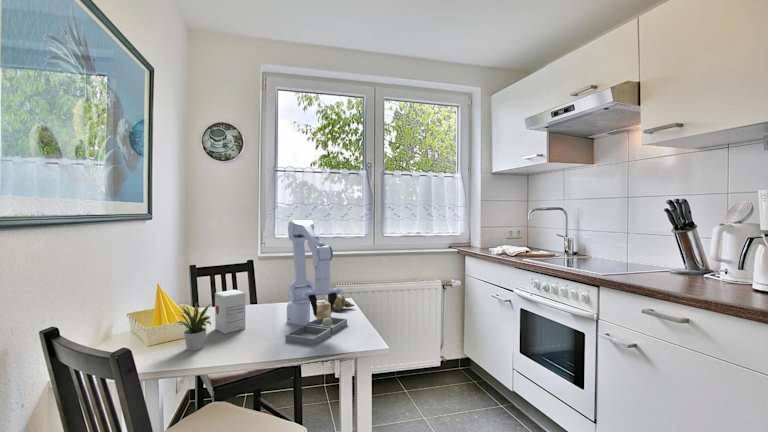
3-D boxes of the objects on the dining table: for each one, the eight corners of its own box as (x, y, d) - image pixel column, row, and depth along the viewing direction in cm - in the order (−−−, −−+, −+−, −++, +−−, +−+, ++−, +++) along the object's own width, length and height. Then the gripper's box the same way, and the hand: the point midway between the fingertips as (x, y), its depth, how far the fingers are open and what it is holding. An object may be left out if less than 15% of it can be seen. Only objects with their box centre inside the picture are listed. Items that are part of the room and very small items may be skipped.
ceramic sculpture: (334, 287, 190) (355, 293, 181) (334, 303, 191) (355, 310, 181) (318, 291, 182) (340, 297, 172) (318, 308, 182) (339, 315, 173)
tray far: (306, 331, 148) (306, 323, 148) (322, 322, 159) (322, 315, 159) (332, 335, 144) (332, 327, 144) (347, 326, 155) (347, 319, 155)
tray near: (285, 342, 136) (285, 334, 135) (304, 332, 147) (304, 325, 147) (313, 347, 131) (313, 338, 131) (330, 336, 142) (330, 328, 142)
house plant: (164, 360, 120) (164, 309, 120) (170, 345, 133) (169, 300, 132) (213, 353, 126) (213, 305, 125) (214, 339, 138) (213, 296, 138)
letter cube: (317, 319, 136) (317, 305, 136) (314, 315, 141) (314, 302, 141) (330, 317, 138) (330, 303, 138) (327, 313, 143) (327, 300, 142)
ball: (320, 328, 150) (320, 318, 150) (325, 325, 154) (325, 315, 154) (328, 329, 149) (328, 319, 149) (333, 326, 152) (333, 316, 152)
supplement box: (214, 329, 151) (214, 292, 151) (235, 324, 157) (235, 289, 157) (224, 334, 145) (223, 296, 144) (246, 328, 151) (245, 292, 151)
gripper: (305, 281, 133) (305, 319, 133) (344, 278, 138) (344, 314, 138) (301, 278, 139) (301, 314, 139) (338, 275, 145) (338, 310, 145)
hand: (322, 314), depth 139 cm, fingers closed on letter cube, 5 cm apart
